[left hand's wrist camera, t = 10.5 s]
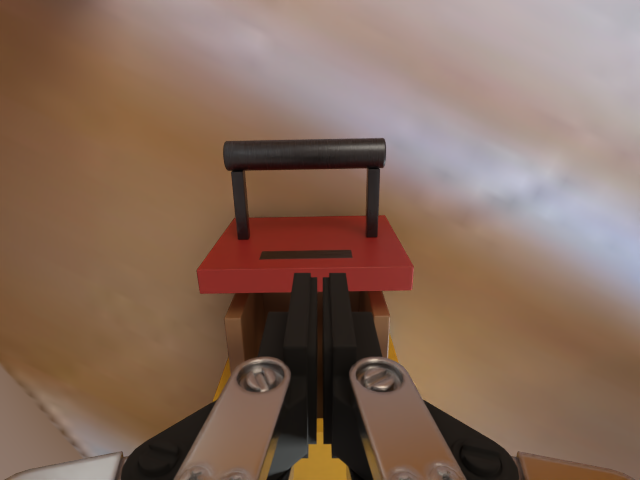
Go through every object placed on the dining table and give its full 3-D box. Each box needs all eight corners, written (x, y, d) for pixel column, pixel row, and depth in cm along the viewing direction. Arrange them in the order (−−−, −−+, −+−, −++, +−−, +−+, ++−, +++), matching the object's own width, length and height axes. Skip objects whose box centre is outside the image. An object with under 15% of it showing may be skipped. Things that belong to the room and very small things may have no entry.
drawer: (225, 134, 23) (179, 151, 15) (388, 131, 23) (422, 147, 15) (256, 443, 31) (236, 553, 24) (375, 441, 31) (393, 551, 23)
